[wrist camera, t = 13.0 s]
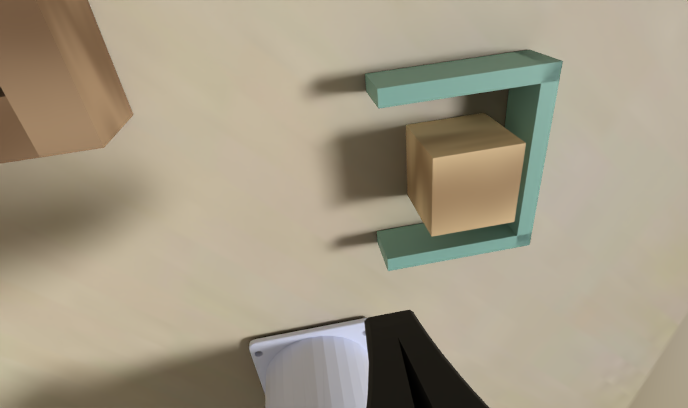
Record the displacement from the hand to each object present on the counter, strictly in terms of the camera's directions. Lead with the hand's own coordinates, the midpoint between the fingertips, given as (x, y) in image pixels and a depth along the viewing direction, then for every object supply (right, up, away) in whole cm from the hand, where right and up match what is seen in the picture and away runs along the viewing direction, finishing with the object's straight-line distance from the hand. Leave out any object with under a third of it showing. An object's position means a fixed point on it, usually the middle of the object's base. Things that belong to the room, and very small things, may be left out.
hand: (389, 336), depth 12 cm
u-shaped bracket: (+4, +6, +9) cm, 12 cm away
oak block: (+4, +6, +9) cm, 12 cm away
